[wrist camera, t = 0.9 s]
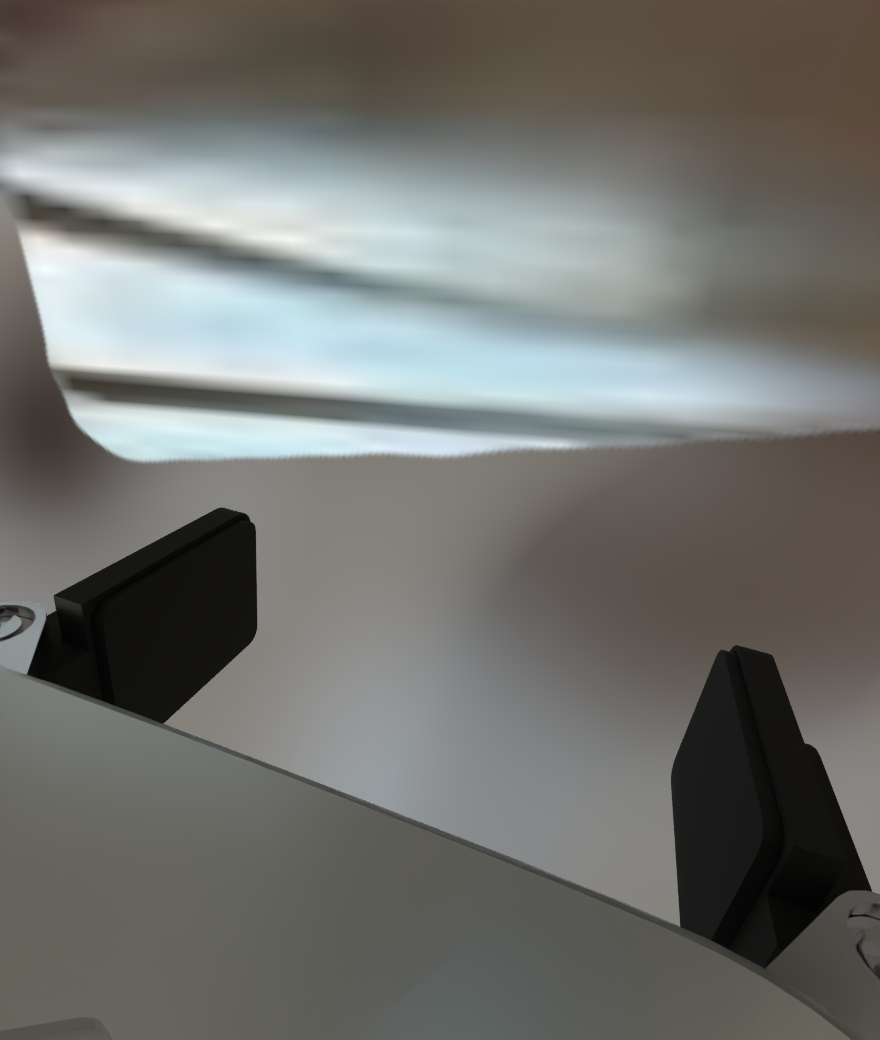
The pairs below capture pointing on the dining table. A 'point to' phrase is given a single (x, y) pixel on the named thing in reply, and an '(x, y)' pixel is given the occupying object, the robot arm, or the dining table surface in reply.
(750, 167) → the dining table surface
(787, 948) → the robot arm
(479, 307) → the dining table surface
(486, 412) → the dining table surface
